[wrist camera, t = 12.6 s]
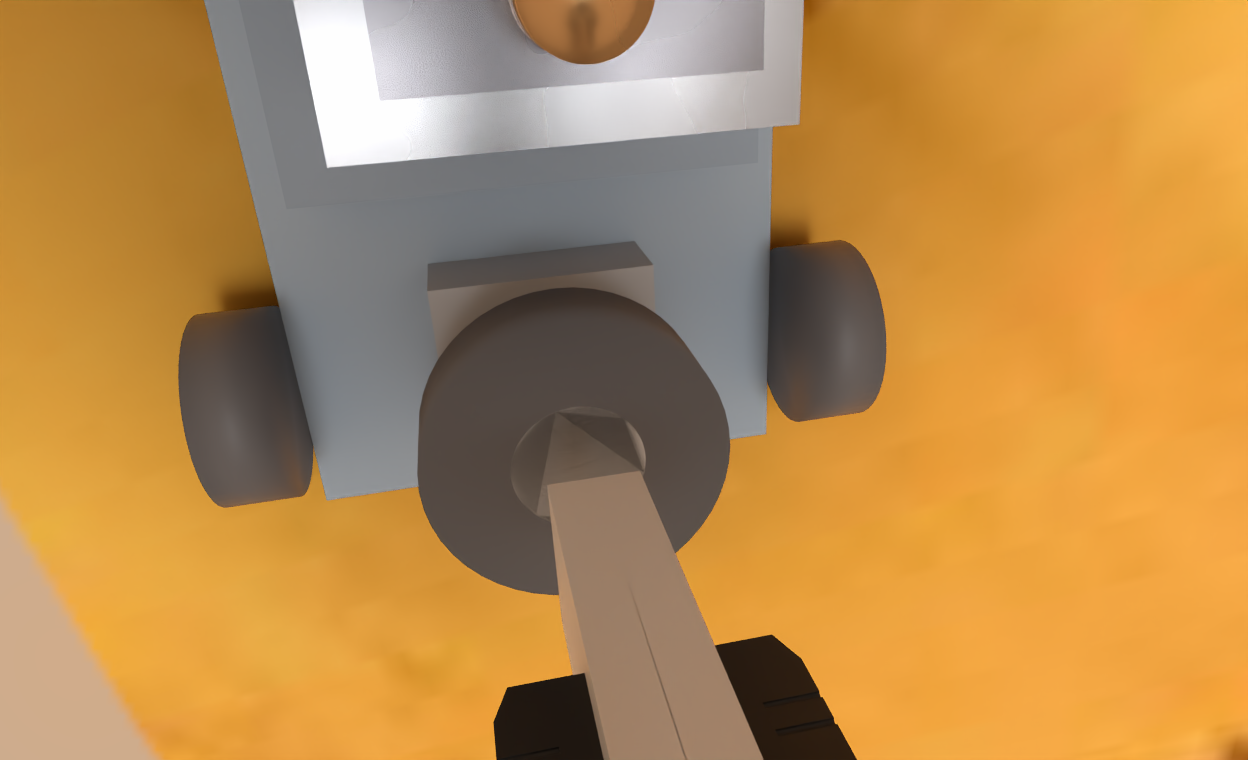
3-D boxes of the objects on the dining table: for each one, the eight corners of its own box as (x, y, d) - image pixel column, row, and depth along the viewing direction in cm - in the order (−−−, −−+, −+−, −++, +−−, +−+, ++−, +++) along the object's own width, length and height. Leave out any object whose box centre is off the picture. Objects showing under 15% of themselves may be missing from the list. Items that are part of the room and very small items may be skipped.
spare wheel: (399, 274, 18) (391, 342, 14) (676, 243, 19) (730, 300, 15) (441, 512, 20) (442, 618, 17) (683, 475, 21) (729, 567, 18)
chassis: (-15, -531, 14) (-188, -730, 10) (846, -504, 16) (974, -655, 13) (269, 489, 23) (235, 594, 19) (805, 410, 25) (874, 488, 21)
